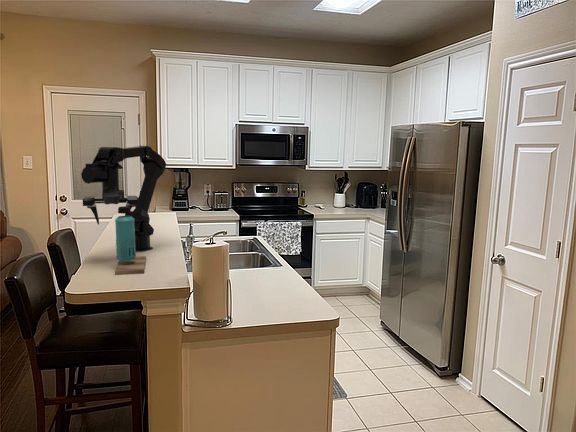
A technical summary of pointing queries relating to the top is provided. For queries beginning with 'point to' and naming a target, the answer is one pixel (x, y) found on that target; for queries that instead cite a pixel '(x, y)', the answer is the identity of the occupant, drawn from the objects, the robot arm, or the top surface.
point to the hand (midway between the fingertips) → (112, 223)
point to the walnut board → (131, 266)
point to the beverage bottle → (125, 236)
